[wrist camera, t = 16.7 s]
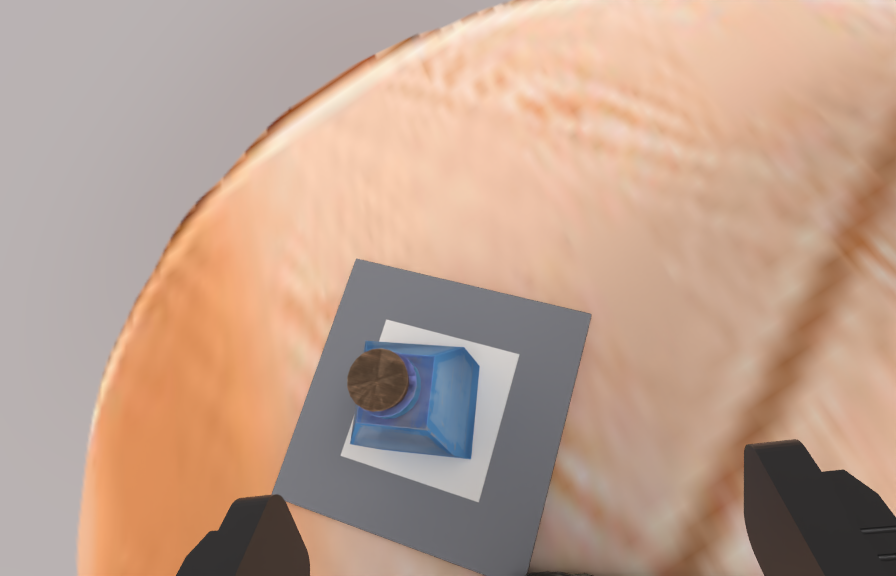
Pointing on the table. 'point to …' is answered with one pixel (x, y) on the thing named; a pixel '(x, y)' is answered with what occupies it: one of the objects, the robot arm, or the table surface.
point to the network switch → (556, 574)
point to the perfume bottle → (414, 398)
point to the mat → (495, 429)
